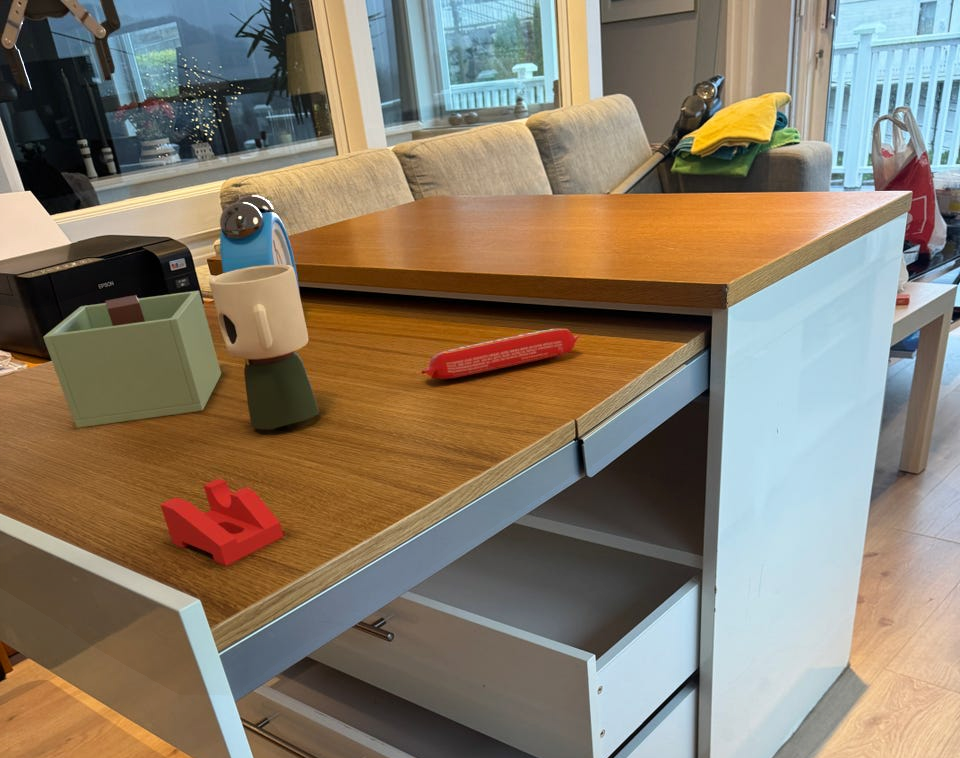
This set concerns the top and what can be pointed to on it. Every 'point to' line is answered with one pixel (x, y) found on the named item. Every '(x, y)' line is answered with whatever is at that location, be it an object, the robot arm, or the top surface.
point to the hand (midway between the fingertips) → (68, 85)
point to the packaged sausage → (500, 353)
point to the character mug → (266, 341)
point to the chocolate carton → (125, 310)
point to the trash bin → (135, 361)
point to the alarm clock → (253, 236)
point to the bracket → (223, 523)
